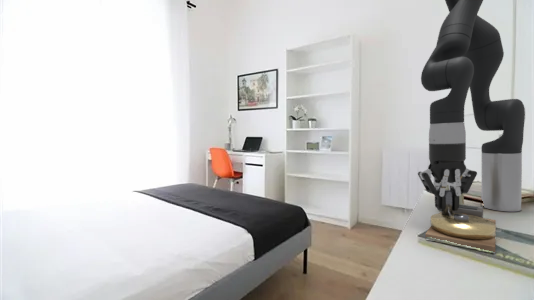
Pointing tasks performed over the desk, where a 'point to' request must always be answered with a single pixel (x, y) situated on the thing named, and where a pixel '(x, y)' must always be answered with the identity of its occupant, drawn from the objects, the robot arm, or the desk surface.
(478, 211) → the tan piece
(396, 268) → the desk surface
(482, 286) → the desk surface
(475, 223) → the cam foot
